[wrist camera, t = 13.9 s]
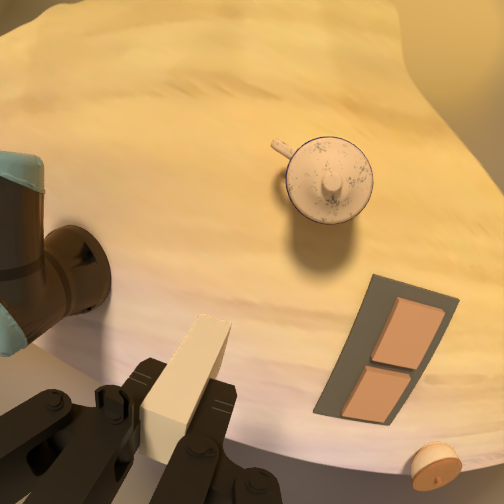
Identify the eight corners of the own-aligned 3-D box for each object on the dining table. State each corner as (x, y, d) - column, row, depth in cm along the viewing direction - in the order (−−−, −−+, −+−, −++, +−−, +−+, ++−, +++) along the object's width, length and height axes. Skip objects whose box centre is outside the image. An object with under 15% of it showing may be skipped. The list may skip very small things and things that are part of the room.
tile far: (341, 415, 47) (383, 422, 46) (366, 370, 44) (410, 379, 43) (341, 409, 48) (382, 416, 47) (365, 364, 45) (408, 373, 44)
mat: (313, 410, 50) (313, 412, 49) (373, 273, 42) (373, 275, 41) (388, 423, 48) (389, 425, 48) (458, 298, 41) (459, 300, 40)
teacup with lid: (372, 170, 38) (397, 172, 27) (333, 226, 41) (343, 249, 30) (295, 115, 38) (292, 97, 27) (256, 173, 41) (239, 177, 30)
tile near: (372, 360, 43) (416, 369, 42) (399, 300, 40) (445, 313, 39) (370, 354, 45) (413, 363, 44) (396, 296, 42) (441, 308, 41)
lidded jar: (396, 456, 51) (403, 490, 42) (438, 427, 47) (450, 461, 38) (422, 470, 51) (429, 501, 42) (460, 443, 48) (472, 474, 39)
